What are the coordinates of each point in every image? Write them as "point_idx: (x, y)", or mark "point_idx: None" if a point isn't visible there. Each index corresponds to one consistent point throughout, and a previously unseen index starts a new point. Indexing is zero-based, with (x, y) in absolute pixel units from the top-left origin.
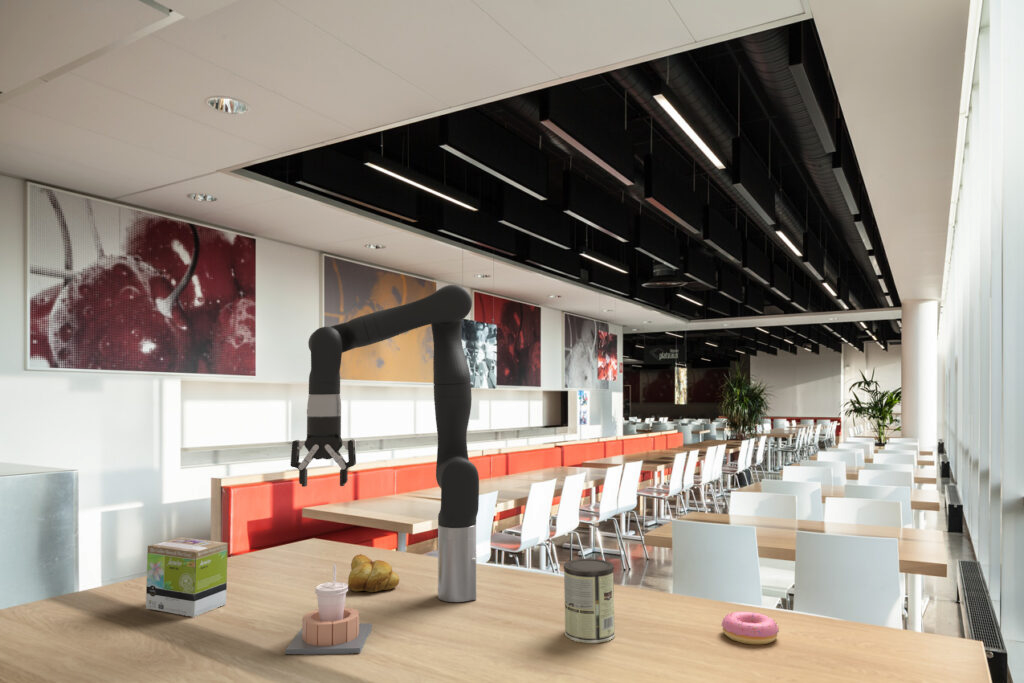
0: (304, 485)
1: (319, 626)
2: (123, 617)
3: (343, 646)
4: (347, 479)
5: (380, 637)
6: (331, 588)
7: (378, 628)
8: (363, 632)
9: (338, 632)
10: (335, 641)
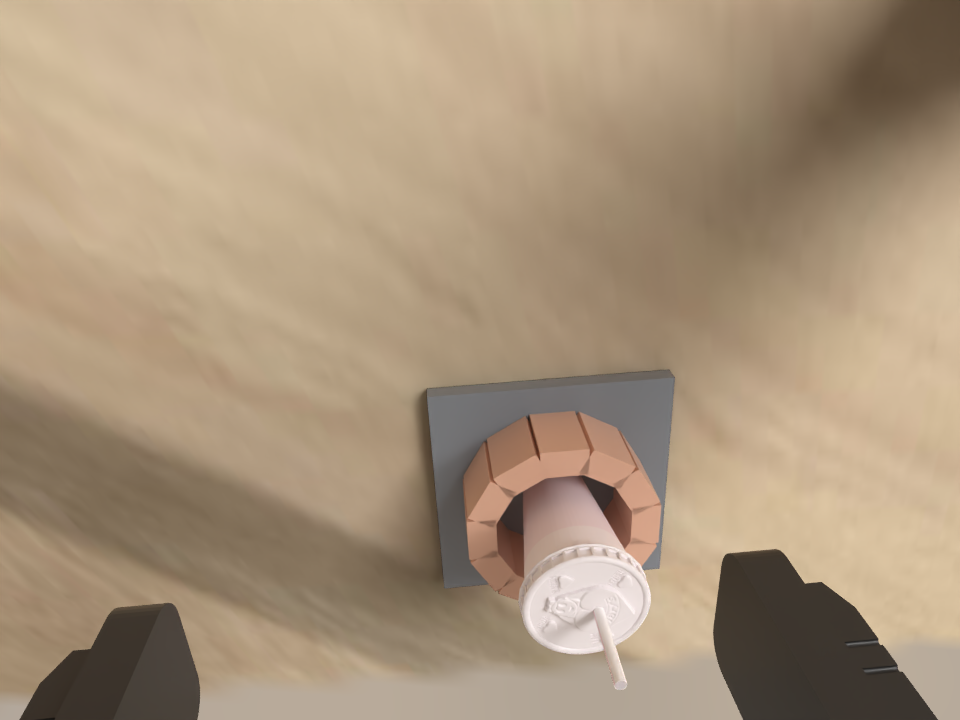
0: (193, 713)
1: None
2: None
3: None
4: (863, 623)
5: (704, 445)
6: (591, 630)
7: (692, 368)
8: (654, 459)
9: None
10: None
